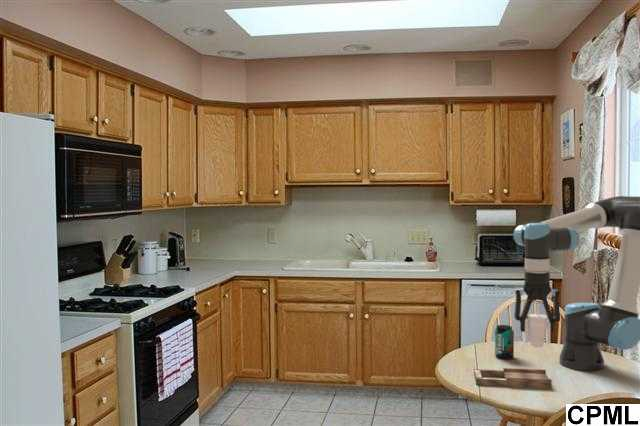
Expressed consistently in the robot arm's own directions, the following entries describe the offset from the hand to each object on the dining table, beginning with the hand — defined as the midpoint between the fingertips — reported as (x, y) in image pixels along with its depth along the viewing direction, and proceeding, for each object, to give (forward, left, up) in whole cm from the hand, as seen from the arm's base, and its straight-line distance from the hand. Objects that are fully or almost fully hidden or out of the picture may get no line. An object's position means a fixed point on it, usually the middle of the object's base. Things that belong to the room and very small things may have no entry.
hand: (536, 341), depth 178 cm
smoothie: (0, 0, -1) cm, 1 cm away
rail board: (+7, -9, -17) cm, 20 cm away
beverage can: (+6, -36, -17) cm, 40 cm away
